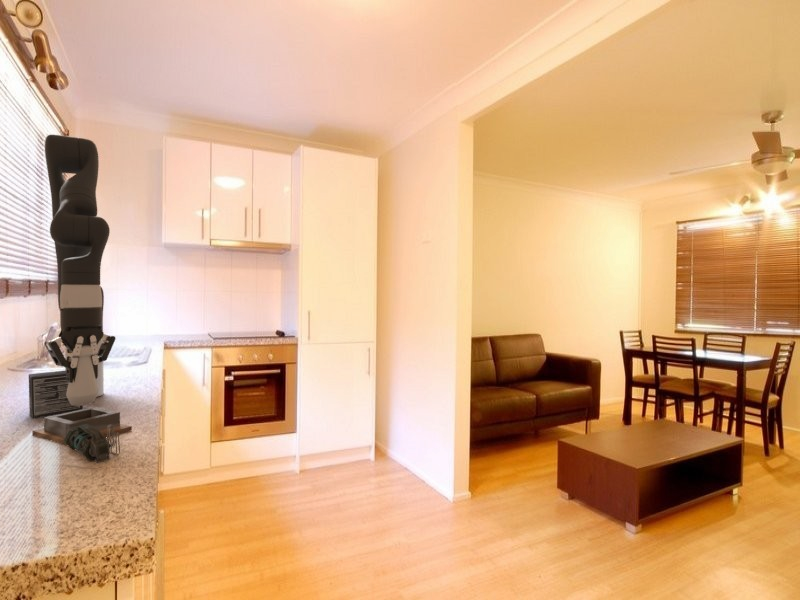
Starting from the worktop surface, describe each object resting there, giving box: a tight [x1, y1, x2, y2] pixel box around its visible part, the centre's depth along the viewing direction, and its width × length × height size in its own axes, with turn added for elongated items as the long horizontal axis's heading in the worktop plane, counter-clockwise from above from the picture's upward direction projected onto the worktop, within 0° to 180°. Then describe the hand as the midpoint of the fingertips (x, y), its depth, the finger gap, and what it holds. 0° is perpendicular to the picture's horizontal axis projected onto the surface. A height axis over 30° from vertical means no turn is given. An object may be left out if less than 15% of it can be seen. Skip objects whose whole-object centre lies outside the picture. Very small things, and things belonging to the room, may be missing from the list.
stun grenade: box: [64, 424, 121, 464], centre depth 86 cm, size 6×6×14 cm
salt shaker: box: [66, 346, 98, 406], centre depth 98 cm, size 6×6×13 cm
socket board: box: [32, 406, 133, 446], centre depth 98 cm, size 16×12×4 cm
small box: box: [28, 369, 84, 420], centre depth 115 cm, size 11×6×10 cm, turn 135°
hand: (82, 382), depth 98 cm, fingers closed on salt shaker, 3 cm apart
